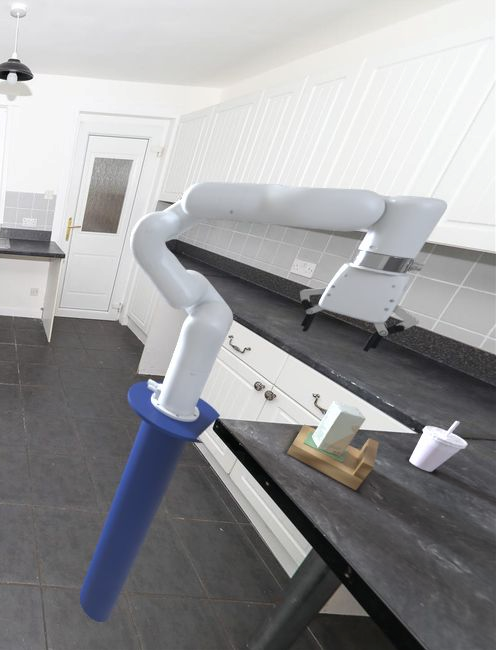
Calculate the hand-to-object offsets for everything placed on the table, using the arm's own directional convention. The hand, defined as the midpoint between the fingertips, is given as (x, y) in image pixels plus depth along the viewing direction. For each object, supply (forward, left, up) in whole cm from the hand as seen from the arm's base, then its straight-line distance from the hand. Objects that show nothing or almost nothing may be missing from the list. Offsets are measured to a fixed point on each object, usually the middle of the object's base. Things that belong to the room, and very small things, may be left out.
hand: (334, 339), depth 71 cm
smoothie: (+24, +26, -30) cm, 46 cm away
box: (+8, +6, -27) cm, 29 cm away
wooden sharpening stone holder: (+9, +6, -30) cm, 32 cm away
